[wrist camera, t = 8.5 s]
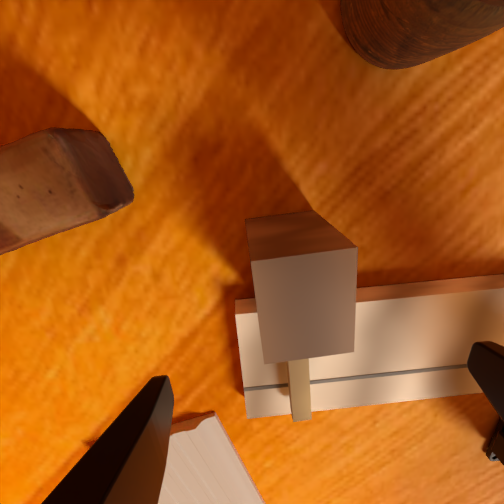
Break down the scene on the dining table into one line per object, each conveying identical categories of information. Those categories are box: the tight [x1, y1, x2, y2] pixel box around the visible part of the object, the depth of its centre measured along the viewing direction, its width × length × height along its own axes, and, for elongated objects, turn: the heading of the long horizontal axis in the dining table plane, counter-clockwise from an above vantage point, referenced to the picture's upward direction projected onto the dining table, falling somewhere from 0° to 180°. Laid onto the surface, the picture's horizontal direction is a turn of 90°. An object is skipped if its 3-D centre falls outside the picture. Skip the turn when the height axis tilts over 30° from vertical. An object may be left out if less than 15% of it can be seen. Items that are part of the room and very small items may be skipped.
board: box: [235, 274, 504, 419], centre depth 19 cm, size 19×9×2 cm, turn 94°
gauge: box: [245, 210, 358, 422], centre depth 15 cm, size 4×13×6 cm, turn 7°
